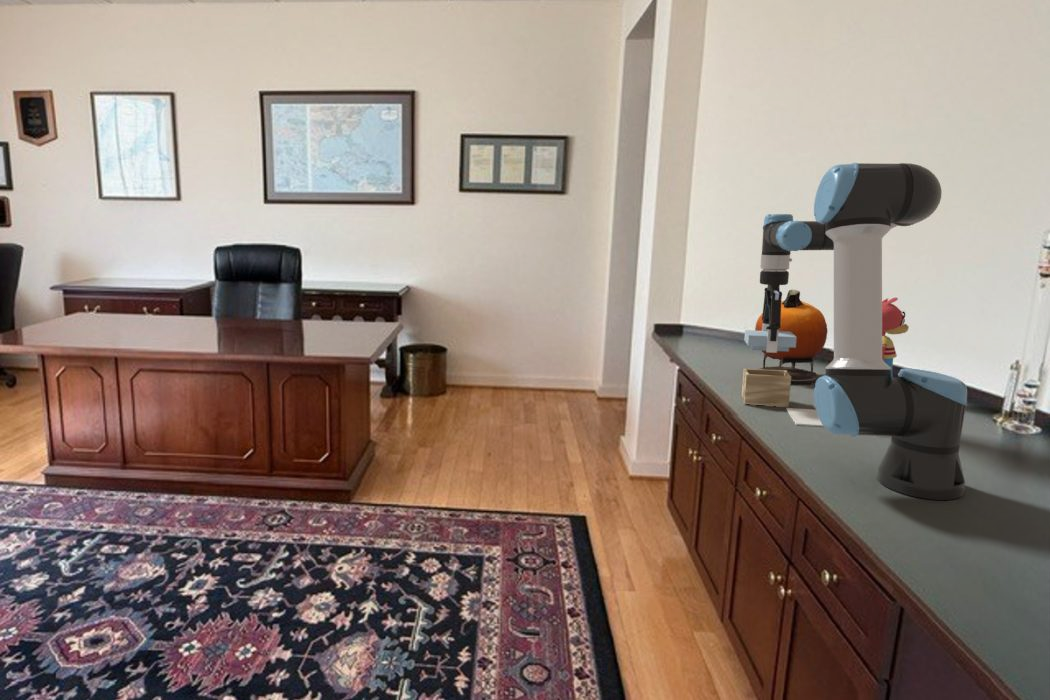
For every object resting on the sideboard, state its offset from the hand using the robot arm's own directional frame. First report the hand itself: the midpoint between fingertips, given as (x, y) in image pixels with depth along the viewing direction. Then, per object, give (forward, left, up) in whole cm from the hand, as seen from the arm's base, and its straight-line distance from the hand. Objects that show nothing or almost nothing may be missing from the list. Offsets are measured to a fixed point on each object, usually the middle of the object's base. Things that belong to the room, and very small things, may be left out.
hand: (768, 348), depth 183 cm
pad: (-13, -12, -16) cm, 24 cm away
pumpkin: (+33, -12, -16) cm, 39 cm away
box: (0, 0, -16) cm, 16 cm away
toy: (+15, -36, -16) cm, 42 cm away
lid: (0, 0, +2) cm, 2 cm away
